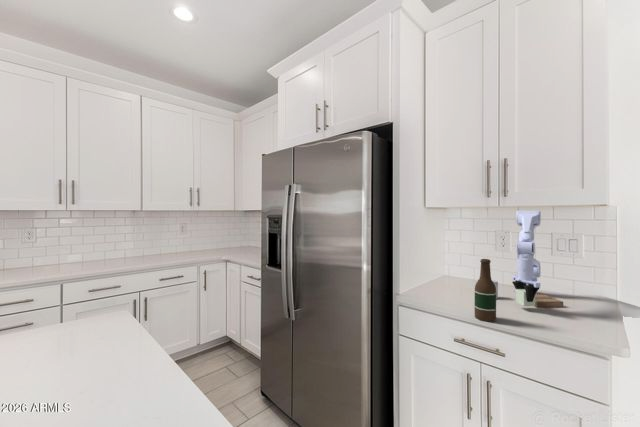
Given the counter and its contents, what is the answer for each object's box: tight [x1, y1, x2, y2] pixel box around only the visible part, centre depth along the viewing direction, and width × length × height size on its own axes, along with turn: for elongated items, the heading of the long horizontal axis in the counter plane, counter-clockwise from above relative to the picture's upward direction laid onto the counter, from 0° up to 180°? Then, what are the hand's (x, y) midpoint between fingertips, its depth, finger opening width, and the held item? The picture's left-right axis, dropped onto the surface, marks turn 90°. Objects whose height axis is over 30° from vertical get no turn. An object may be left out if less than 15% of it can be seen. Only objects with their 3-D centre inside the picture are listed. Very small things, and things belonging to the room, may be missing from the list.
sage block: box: [515, 289, 535, 307], centre depth 132 cm, size 5×5×6 cm
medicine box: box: [477, 278, 499, 300], centre depth 150 cm, size 8×4×9 cm, turn 84°
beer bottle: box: [474, 258, 497, 323], centre depth 121 cm, size 8×8×24 cm
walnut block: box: [533, 293, 564, 309], centre depth 140 cm, size 12×12×3 cm
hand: (525, 299), depth 132 cm, fingers closed on sage block, 5 cm apart
